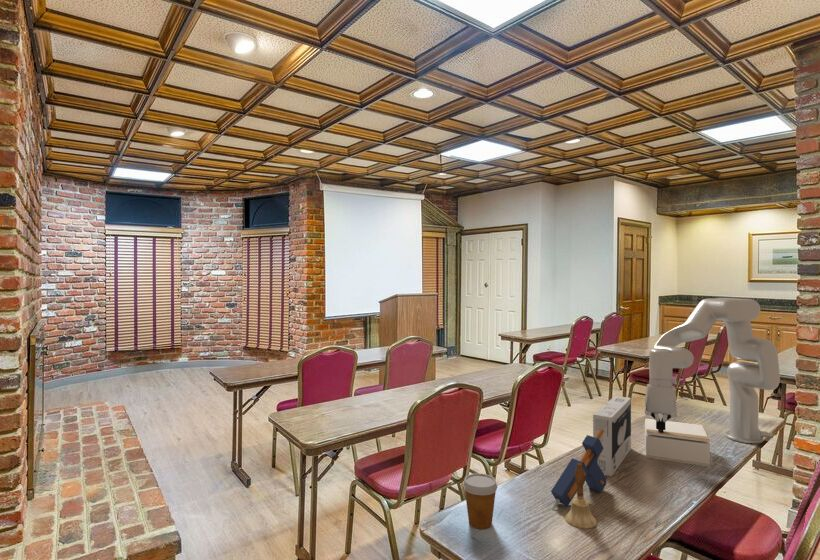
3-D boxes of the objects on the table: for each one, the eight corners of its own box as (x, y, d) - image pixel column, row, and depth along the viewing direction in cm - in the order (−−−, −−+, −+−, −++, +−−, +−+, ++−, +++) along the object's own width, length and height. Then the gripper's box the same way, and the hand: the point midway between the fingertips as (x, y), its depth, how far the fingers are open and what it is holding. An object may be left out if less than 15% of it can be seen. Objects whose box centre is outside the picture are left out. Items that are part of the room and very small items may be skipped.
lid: (701, 427, 178) (701, 424, 178) (709, 442, 161) (709, 439, 161) (645, 420, 186) (645, 417, 186) (646, 434, 170) (646, 431, 170)
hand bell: (576, 530, 122) (576, 471, 122) (559, 514, 131) (559, 459, 130) (603, 526, 124) (603, 468, 124) (584, 511, 132) (584, 456, 132)
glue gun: (563, 533, 139) (544, 502, 134) (602, 453, 155) (586, 422, 150) (581, 541, 134) (562, 509, 129) (620, 457, 150) (604, 426, 145)
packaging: (611, 476, 155) (611, 417, 154) (592, 471, 158) (592, 414, 158) (631, 448, 179) (631, 397, 179) (614, 445, 183) (614, 395, 182)
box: (702, 449, 178) (702, 428, 178) (709, 466, 162) (709, 444, 161) (644, 441, 186) (644, 421, 186) (646, 457, 170) (646, 436, 170)
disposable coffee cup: (504, 522, 127) (504, 479, 127) (485, 537, 120) (485, 491, 120) (475, 510, 133) (475, 469, 133) (456, 524, 126) (455, 480, 126)
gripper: (683, 382, 170) (682, 431, 170) (638, 378, 176) (638, 425, 176) (685, 386, 163) (685, 437, 163) (638, 382, 169) (638, 431, 170)
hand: (660, 431), depth 170 cm, fingers closed
